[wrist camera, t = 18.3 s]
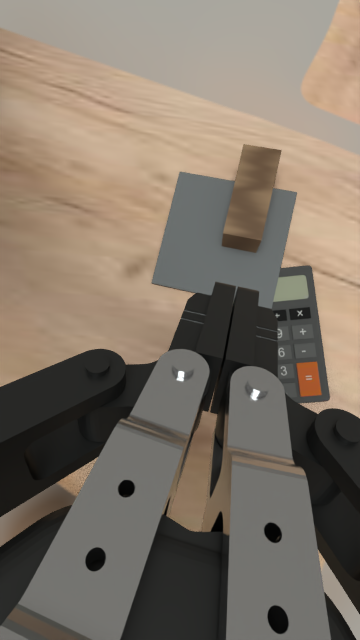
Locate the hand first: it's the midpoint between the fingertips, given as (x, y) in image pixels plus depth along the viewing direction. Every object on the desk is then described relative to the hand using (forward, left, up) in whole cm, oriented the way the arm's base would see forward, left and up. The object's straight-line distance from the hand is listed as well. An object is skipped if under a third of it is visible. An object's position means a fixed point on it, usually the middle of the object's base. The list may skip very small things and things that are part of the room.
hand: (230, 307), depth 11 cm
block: (0, +11, -23) cm, 26 cm away
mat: (-2, +12, -26) cm, 28 cm away
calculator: (+5, +2, -26) cm, 27 cm away
